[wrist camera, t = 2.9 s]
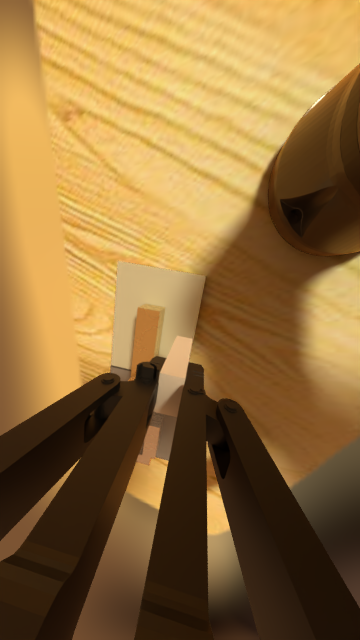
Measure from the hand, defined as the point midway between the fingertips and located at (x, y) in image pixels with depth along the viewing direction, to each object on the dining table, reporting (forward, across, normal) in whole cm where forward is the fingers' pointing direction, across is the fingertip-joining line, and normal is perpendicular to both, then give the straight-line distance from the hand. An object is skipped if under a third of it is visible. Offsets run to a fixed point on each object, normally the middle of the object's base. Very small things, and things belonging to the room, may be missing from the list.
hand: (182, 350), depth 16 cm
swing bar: (+8, -5, -4) cm, 10 cm away
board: (+9, -5, -9) cm, 14 cm away
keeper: (+8, -5, -19) cm, 21 cm away
